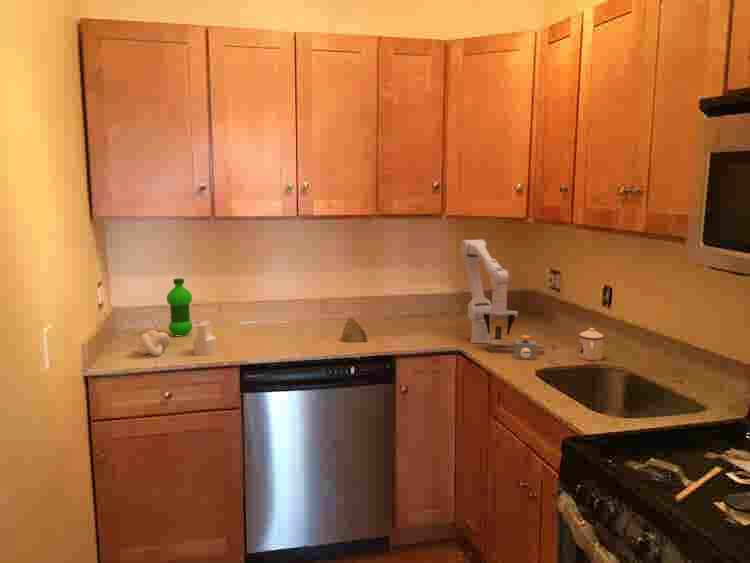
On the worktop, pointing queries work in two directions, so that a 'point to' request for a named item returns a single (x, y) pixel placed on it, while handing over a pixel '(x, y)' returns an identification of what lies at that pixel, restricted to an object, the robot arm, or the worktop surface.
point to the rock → (353, 332)
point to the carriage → (498, 338)
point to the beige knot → (153, 343)
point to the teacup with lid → (591, 345)
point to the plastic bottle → (179, 308)
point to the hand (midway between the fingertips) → (498, 333)
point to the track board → (510, 349)
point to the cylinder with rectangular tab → (205, 340)
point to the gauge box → (525, 349)
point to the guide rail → (513, 345)
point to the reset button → (525, 338)
